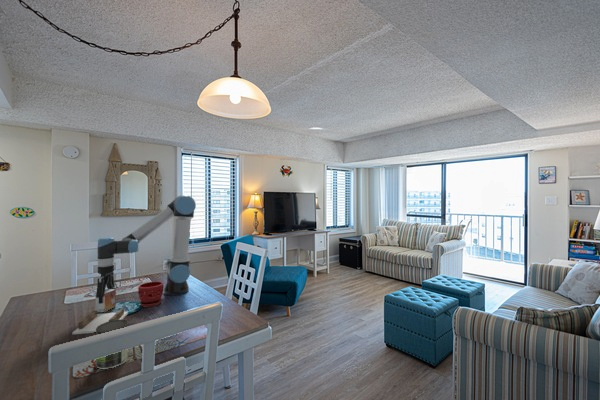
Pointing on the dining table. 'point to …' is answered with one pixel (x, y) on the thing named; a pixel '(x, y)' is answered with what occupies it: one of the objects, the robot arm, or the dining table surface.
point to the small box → (108, 300)
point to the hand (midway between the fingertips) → (105, 305)
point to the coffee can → (118, 357)
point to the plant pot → (150, 293)
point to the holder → (97, 321)
